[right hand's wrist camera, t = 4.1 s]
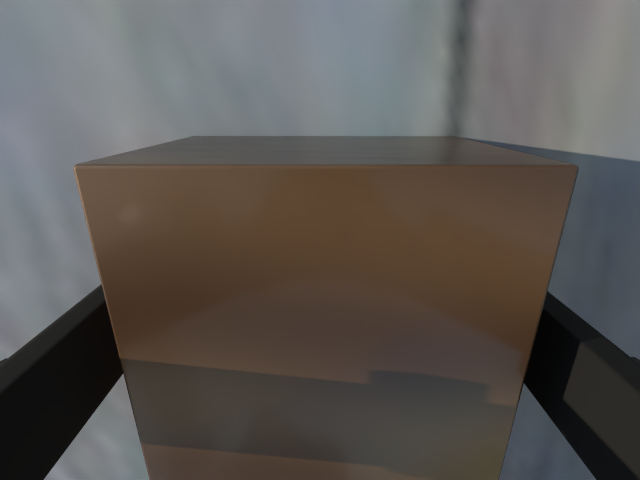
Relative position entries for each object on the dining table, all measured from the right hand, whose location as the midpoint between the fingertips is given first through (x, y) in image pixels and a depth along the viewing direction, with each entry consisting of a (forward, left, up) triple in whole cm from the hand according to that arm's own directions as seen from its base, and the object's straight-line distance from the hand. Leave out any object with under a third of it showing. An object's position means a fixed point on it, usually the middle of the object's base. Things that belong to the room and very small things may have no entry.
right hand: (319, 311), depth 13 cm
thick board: (+10, +18, -3) cm, 21 cm away
